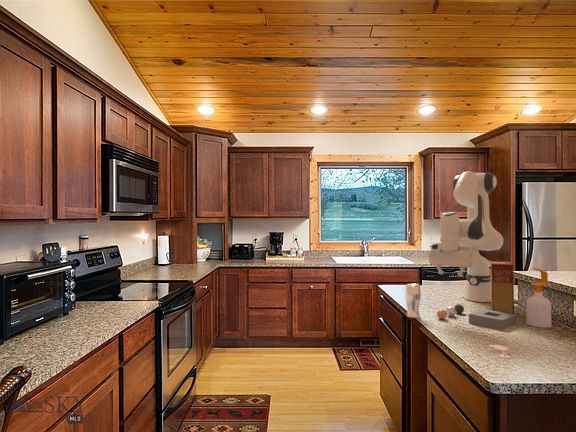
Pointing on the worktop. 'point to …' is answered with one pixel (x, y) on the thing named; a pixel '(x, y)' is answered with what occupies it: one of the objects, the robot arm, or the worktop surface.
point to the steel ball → (450, 311)
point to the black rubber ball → (459, 308)
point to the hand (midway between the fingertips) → (450, 275)
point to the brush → (500, 351)
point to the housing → (492, 319)
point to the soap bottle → (539, 305)
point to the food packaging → (502, 287)
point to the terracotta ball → (441, 314)
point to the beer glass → (413, 300)
